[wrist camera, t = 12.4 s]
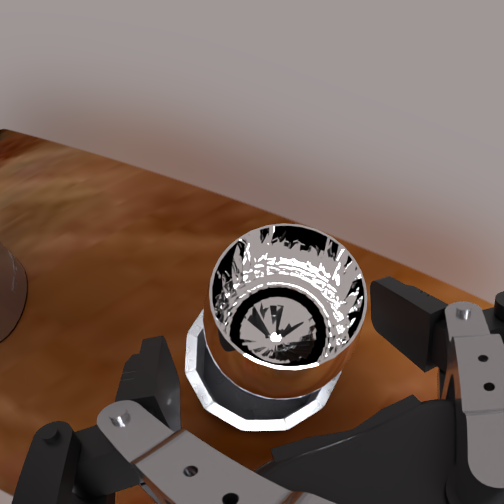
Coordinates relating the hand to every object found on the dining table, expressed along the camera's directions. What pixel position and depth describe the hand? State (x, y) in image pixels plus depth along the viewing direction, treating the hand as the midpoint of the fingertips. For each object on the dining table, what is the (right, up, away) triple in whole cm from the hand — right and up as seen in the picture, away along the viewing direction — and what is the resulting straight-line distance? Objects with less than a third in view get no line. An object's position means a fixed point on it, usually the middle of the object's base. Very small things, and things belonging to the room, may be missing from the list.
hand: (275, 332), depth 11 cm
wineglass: (0, -4, +8) cm, 9 cm away
